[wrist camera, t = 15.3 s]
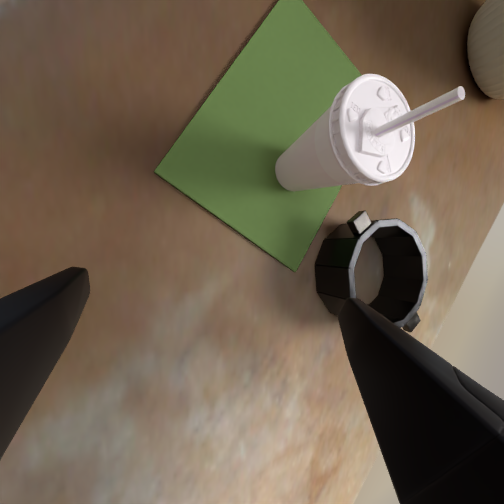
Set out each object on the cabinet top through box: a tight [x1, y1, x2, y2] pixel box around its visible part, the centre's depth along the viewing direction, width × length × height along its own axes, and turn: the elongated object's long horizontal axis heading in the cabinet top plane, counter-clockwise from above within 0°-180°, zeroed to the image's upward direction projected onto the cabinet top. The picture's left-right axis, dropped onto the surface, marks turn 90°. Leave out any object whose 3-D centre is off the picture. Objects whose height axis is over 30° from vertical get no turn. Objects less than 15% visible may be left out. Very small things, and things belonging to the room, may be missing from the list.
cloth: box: [154, 0, 362, 272], centre depth 24 cm, size 22×15×1 cm
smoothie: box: [275, 74, 465, 191], centre depth 18 cm, size 6×6×14 cm
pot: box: [315, 211, 428, 332], centre depth 26 cm, size 10×13×4 cm
